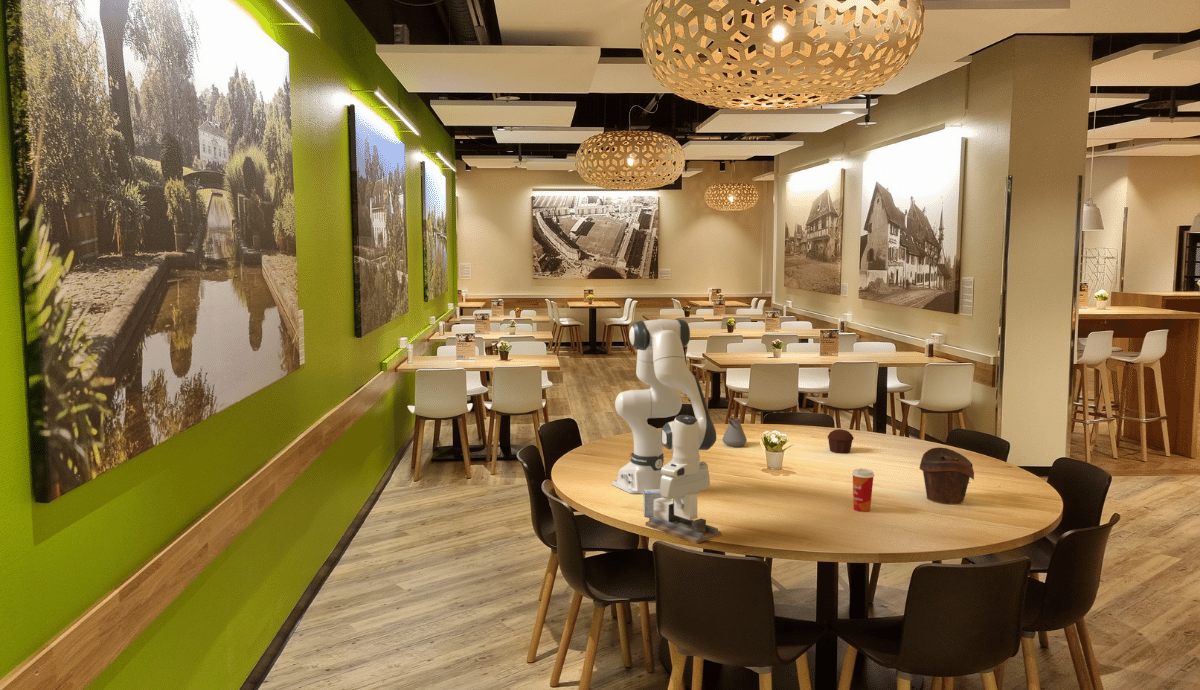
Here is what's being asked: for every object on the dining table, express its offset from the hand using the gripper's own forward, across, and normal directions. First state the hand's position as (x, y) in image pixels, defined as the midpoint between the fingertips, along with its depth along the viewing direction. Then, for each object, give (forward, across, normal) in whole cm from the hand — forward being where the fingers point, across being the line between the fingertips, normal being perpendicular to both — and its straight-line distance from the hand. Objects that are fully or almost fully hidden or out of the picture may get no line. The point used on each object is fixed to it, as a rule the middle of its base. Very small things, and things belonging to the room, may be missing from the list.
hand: (685, 507), depth 266 cm
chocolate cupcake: (+8, -98, +40) cm, 106 cm away
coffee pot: (+8, -101, -64) cm, 120 cm away
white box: (+3, 0, 0) cm, 3 cm away
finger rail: (+8, 0, -1) cm, 8 cm away
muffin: (+8, -133, -27) cm, 136 cm away
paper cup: (+8, -64, +26) cm, 70 cm away
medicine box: (+8, -4, -18) cm, 21 cm away
